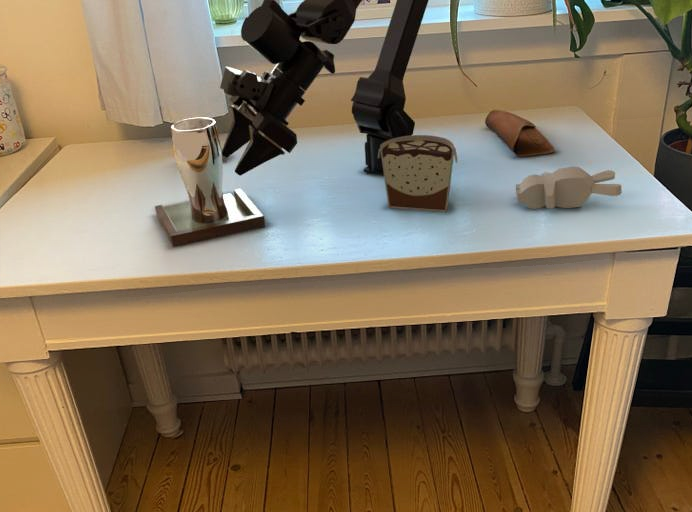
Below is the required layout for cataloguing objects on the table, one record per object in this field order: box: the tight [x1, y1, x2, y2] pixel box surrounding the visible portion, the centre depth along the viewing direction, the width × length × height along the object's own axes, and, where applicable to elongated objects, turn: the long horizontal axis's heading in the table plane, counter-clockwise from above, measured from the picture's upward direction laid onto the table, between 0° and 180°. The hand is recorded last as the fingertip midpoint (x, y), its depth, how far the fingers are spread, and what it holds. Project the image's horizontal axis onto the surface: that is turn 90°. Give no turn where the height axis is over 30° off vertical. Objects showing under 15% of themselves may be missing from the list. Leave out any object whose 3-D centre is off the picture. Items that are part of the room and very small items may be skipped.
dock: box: [154, 188, 266, 248], centre depth 120 cm, size 16×14×2 cm
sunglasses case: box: [484, 109, 556, 158], centre depth 141 cm, size 18×7×7 cm
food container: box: [378, 134, 458, 213], centre depth 117 cm, size 12×6×10 cm, turn 71°
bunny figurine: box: [515, 166, 623, 210], centre depth 115 cm, size 10×5×15 cm
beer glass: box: [170, 117, 229, 226], centre depth 115 cm, size 7×7×15 cm
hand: (230, 164), depth 116 cm, fingers open, 9 cm apart
